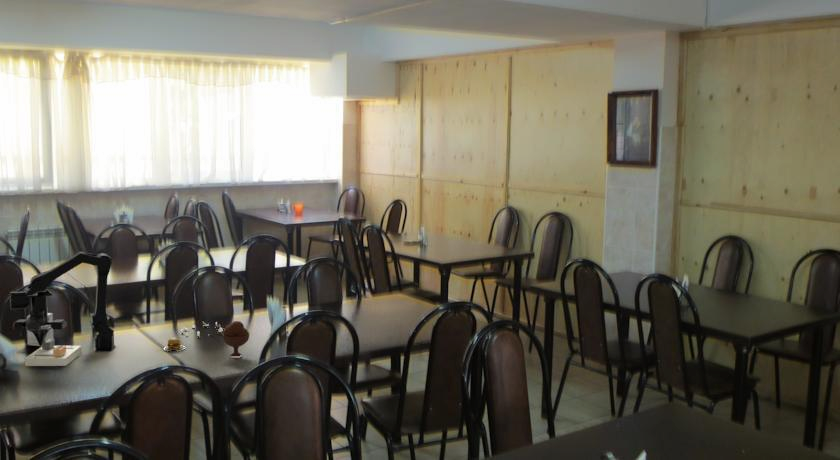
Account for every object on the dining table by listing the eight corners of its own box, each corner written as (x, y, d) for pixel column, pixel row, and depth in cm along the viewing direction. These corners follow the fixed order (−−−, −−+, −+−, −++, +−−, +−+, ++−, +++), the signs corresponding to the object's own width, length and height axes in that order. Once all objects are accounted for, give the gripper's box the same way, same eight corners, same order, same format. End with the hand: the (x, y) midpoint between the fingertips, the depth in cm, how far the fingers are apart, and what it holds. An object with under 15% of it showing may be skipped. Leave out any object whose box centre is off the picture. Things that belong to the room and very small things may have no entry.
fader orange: (66, 352, 308) (65, 345, 308) (61, 356, 303) (61, 349, 303) (58, 352, 308) (57, 345, 308) (53, 356, 303) (53, 349, 303)
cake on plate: (195, 348, 332) (195, 336, 332) (177, 356, 321) (176, 342, 320) (172, 345, 337) (171, 333, 336) (153, 352, 325) (153, 339, 325)
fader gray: (54, 345, 317) (54, 338, 317) (49, 349, 312) (49, 342, 312) (47, 345, 317) (46, 338, 317) (42, 349, 312) (41, 342, 312)
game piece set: (233, 331, 361) (233, 323, 360) (200, 341, 344) (200, 332, 343) (203, 325, 370) (203, 317, 370) (170, 334, 353) (169, 326, 353)
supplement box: (42, 346, 328) (41, 316, 326) (27, 345, 329) (26, 315, 328) (54, 342, 335) (53, 313, 334) (39, 340, 336) (37, 311, 335)
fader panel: (81, 352, 320) (81, 345, 320) (65, 365, 302) (65, 358, 302) (43, 352, 319) (43, 345, 318) (25, 365, 301) (24, 357, 301)
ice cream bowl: (254, 354, 324) (254, 318, 322) (239, 361, 313) (239, 324, 311) (232, 351, 327) (232, 316, 325) (216, 358, 317) (216, 322, 315)
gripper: (6, 311, 304) (7, 351, 306) (55, 311, 305) (57, 350, 307) (18, 305, 315) (20, 343, 317) (66, 305, 316) (67, 343, 318)
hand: (41, 345), depth 314 cm, fingers closed
